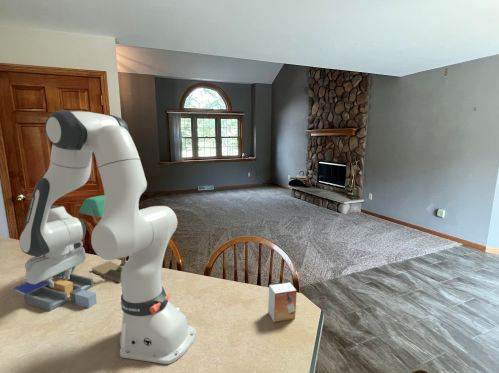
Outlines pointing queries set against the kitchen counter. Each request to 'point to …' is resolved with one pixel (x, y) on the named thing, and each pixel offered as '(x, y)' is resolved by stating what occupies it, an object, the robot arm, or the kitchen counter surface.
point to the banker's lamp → (96, 209)
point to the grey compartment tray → (56, 293)
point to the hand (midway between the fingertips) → (60, 283)
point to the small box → (282, 302)
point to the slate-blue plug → (83, 298)
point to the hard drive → (29, 287)
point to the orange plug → (62, 285)
